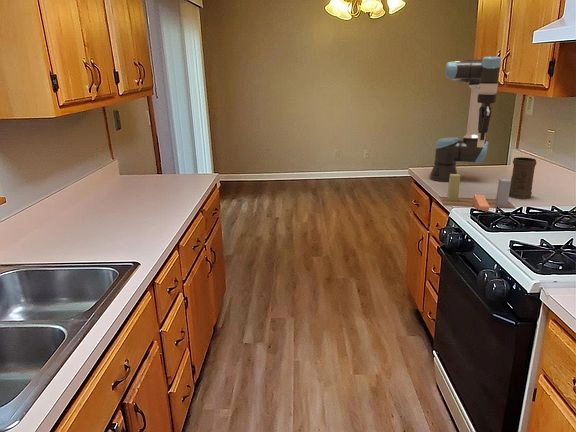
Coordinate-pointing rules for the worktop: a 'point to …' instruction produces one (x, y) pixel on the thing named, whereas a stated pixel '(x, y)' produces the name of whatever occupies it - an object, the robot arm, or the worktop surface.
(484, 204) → the terracotta pillar
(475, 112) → the robot arm
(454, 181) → the olive pillar
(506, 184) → the slate pillar
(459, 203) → the walnut board
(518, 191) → the beer stein
